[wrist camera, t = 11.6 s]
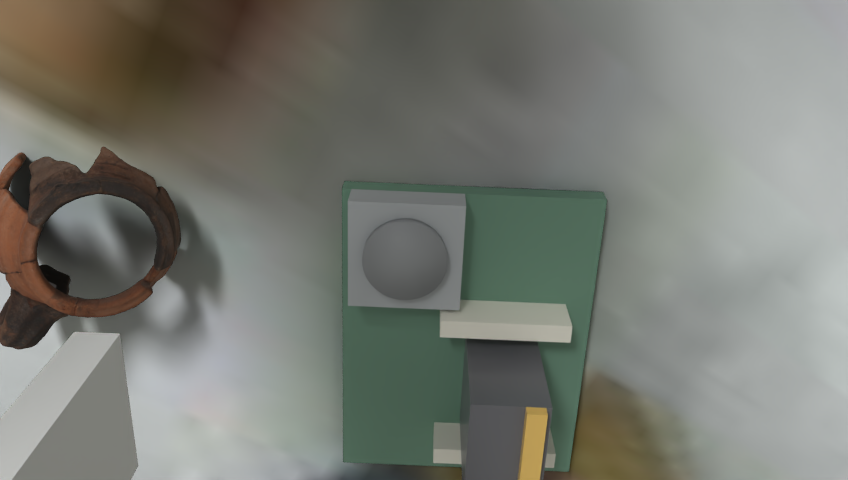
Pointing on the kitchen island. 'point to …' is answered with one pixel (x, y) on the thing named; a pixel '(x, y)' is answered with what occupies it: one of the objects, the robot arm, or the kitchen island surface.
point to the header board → (491, 270)
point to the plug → (504, 411)
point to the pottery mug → (43, 285)
